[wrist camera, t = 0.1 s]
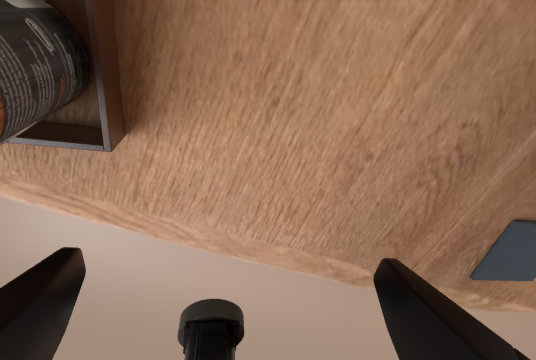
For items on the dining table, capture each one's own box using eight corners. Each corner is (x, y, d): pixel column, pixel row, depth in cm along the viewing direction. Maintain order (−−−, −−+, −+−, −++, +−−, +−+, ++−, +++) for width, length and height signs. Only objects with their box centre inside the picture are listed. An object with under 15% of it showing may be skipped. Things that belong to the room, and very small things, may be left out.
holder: (125, 135, 19) (111, 152, 16) (-33, 119, 17) (-70, 135, 15) (110, -28, 14) (89, -34, 12) (-105, -70, 13) (-172, -86, 11)
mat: (529, 278, 33) (532, 281, 32) (469, 277, 31) (472, 280, 31) (578, 224, 29) (582, 226, 28) (512, 219, 27) (516, 222, 27)
